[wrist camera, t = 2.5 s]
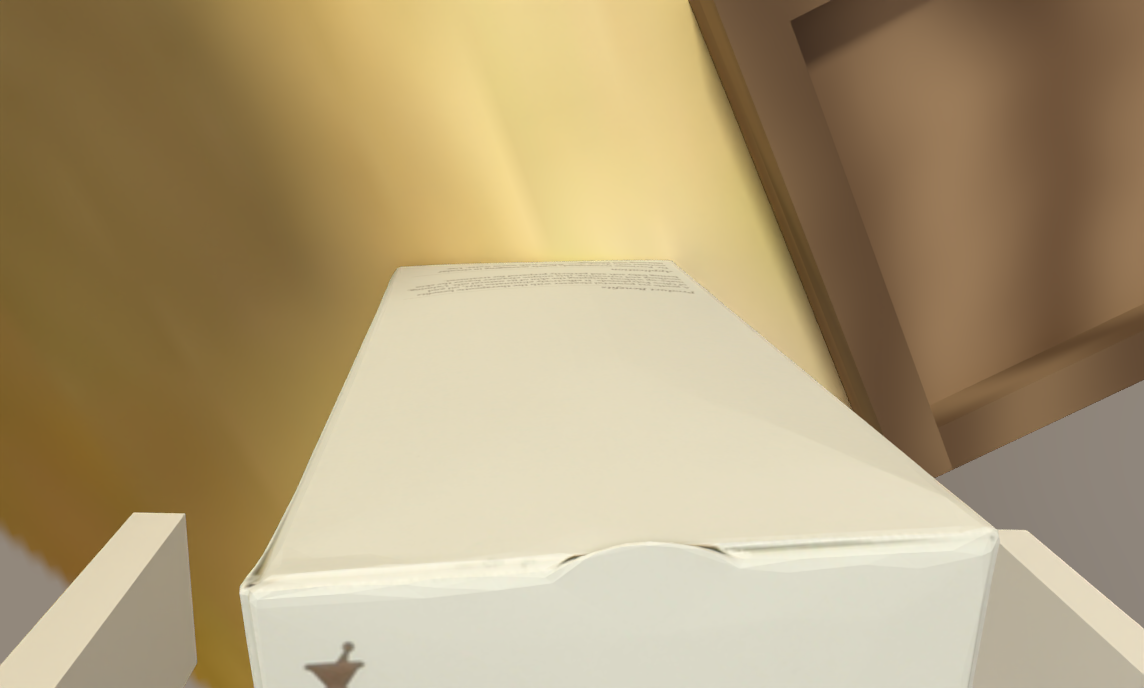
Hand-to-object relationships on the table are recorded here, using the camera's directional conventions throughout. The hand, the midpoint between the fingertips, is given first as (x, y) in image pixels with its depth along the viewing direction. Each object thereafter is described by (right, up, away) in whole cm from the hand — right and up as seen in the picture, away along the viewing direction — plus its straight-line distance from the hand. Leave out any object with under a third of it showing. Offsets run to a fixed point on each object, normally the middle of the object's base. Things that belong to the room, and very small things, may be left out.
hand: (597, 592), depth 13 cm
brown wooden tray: (+12, +10, +10) cm, 18 cm away
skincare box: (-1, +4, +11) cm, 11 cm away
